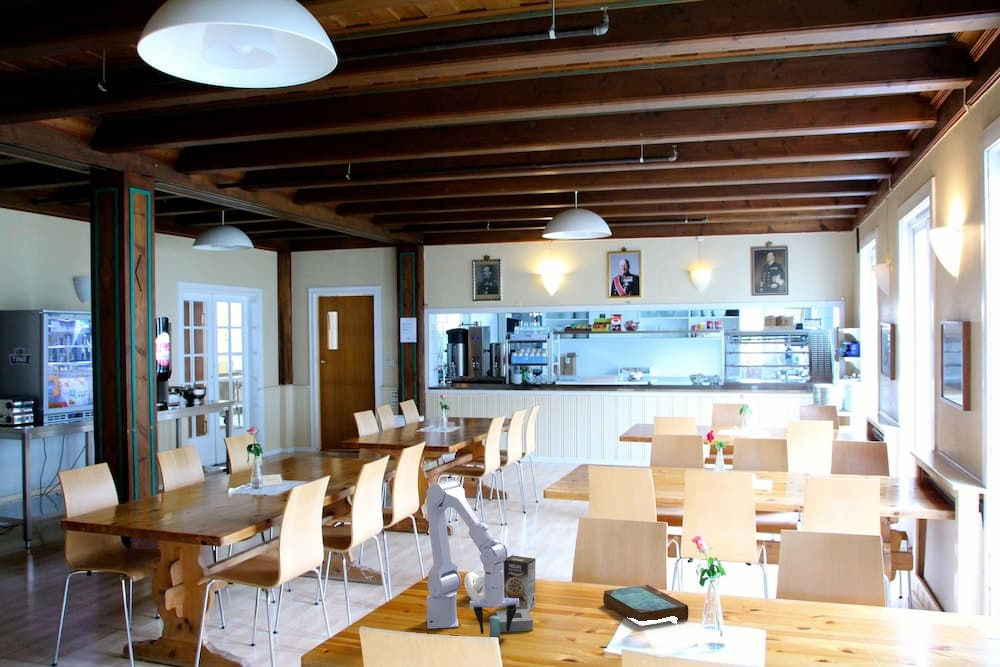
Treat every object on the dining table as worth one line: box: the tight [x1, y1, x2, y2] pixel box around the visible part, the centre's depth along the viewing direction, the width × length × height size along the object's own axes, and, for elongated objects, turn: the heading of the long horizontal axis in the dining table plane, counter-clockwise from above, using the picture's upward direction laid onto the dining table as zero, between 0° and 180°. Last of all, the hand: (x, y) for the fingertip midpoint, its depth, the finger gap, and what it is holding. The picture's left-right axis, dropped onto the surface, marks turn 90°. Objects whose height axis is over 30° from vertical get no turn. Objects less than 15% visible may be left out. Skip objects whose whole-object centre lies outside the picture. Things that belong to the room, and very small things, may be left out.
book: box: [602, 584, 689, 621], centre depth 250 cm, size 23×18×5 cm
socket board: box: [495, 609, 534, 633], centre depth 240 cm, size 10×10×3 cm
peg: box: [489, 615, 501, 640], centre depth 230 cm, size 3×3×6 cm
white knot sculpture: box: [463, 568, 485, 601], centre depth 266 cm, size 11×12×9 cm
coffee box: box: [503, 554, 537, 612], centre depth 256 cm, size 9×6×16 cm
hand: (495, 631), depth 230 cm, fingers open, 7 cm apart
